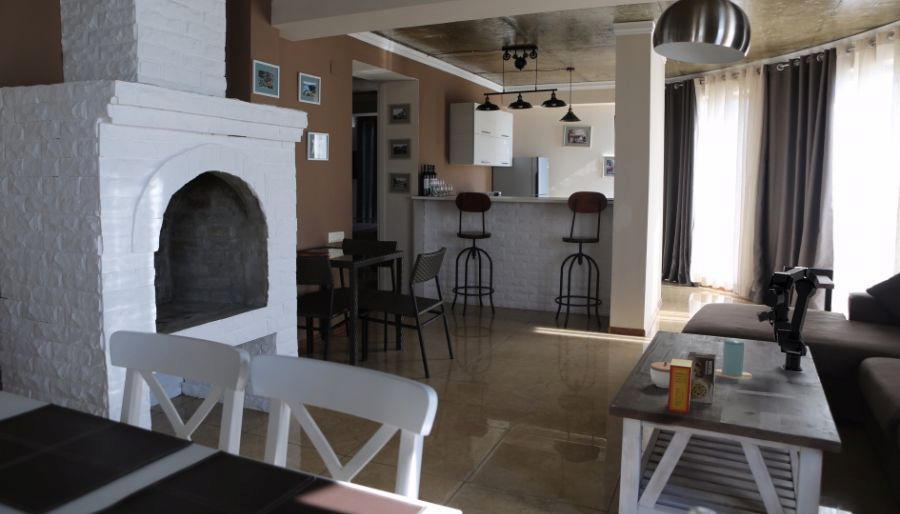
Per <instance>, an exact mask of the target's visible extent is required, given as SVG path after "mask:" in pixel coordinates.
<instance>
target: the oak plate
mask: <svg viewBox="0 0 900 514" xmlns="http://www.w3.org/2000/svg"><path fill="white" fill-rule="evenodd" d="M716 376H717V377H720V378H723V379H730V380H737V381H738V380H739V381H740V380H743V381H744V380H750V379H752V378H753V375H752V374H751V373H749V372H747V371H744V370H743V373H742V376H738V377H736V376H727V375H724V374H723V373H722V368H717V369H716V368H715V377H716Z"/></svg>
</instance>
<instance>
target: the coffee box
mask: <svg viewBox="0 0 900 514" xmlns="http://www.w3.org/2000/svg"><path fill="white" fill-rule="evenodd" d="M716 359H717V354H714V353H705V352H694V351H690V352H689V353H688V355H687V360H692V377H691V394H690V402H696V403H703V402H704V403H705V404H711V405H712V404H714V401H715V387H716V386H715V385H716V383H715V382H716V381H715V380H716V375H715V369H716V364H717V361H716Z"/></svg>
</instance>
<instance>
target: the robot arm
mask: <svg viewBox="0 0 900 514" xmlns="http://www.w3.org/2000/svg"><path fill="white" fill-rule="evenodd" d="M794 285H795V286H794ZM793 286H794V289H795V292H796V294H797V296H796V299H795V300H796V301H795V305H794V309H793V313H792V317H791V320H790V318H789V312H790V311H791V309H790V298H791V297H790V296H791V295H790V294H791V293H792V289H793ZM819 287H820V280H819V279H818V276H817V275H816V274H814V273H813V272H812V271H811V270H810V268H809V267H808V266H807V267H806V266H795V267H794V268H791V269H790V270H787V271H775V272H774V273H773V274H772V275H771V278H770V280H769V283H768V285H767V288H766V289H767V290H768V292H766V293H765V294H764V295H763V297H762V301H763V303H764V305H765V306H767V307H768V308H769V309H764V310H762V311H758V312H756V313H755V314H756V317H757V319H758V322H759V323H763V322H765V321H768V323H769V325H771V327H772V330H773V337H774V341H775V342H777V345H778V346H779V347H780V353H784V354H785V359H784V360H785V362H784V364H782V367H783V368H784V370H790V371H801V372H802V371H803V368H802V367H801V363H802V361H801V360H802V357H806V356H807V353H808V348H807V346H806V344H805V336H804V334H803V328H804V324H805V320H806V316H807V312H808V307H809V304H810V301H811V299H812V297H814V296H815V295H816V294H817V291H818V289H819Z"/></svg>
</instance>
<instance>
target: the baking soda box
mask: <svg viewBox="0 0 900 514" xmlns="http://www.w3.org/2000/svg"><path fill="white" fill-rule="evenodd" d="M670 363H671V364H670V378H669V388H668V402H667V412H672V411H673V412H674V413H679V412H681V413H680V414H689V412H690V408H691V407H690V406H691V401H690V394H691V377H692V360H688V359H681V358H673V357H672V359H671V362H670Z"/></svg>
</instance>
